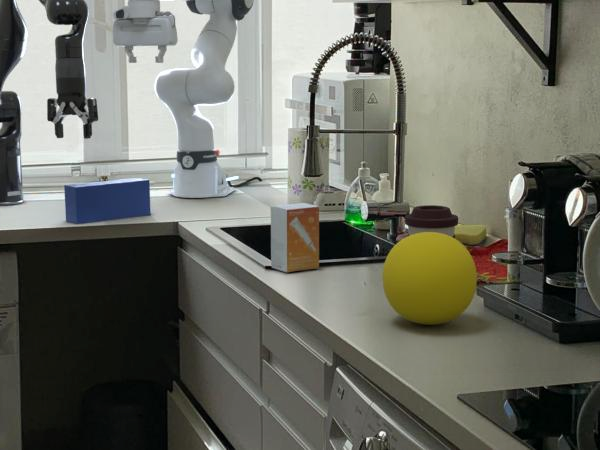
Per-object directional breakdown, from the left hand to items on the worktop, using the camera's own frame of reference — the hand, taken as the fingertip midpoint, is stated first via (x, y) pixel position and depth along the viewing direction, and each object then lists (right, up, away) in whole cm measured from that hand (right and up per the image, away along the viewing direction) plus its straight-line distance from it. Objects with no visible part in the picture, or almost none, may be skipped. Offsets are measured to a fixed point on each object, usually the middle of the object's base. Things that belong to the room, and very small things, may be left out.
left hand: (73, 138), depth 274 cm
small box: (+58, -32, -59) cm, 89 cm away
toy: (+80, -39, -102) cm, 136 cm away
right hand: (+17, +22, +16) cm, 32 cm away
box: (+8, -21, +9) cm, 24 cm away
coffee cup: (+84, -35, -76) cm, 118 cm away
